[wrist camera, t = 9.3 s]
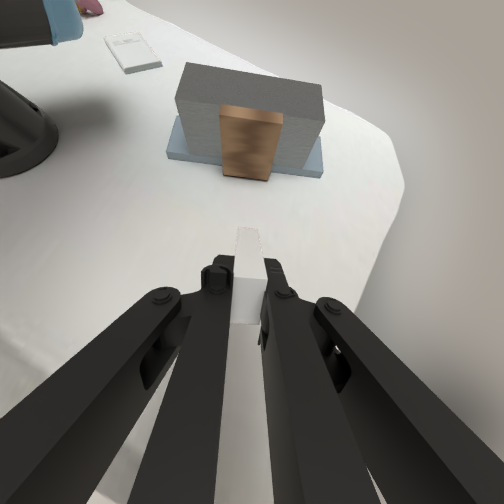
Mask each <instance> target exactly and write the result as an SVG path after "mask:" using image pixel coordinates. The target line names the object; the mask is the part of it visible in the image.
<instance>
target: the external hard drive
mask: <svg viewBox="0 0 504 504" xmlns="http://www.w3.org/2000/svg"><path fill="white" fill-rule="evenodd" d="M104 40H105V43H106V44H107V46H108V47H109V49H110V51H111V52H112V54H113V55H114V57H115V58H116V60H117V61H118V63H119V65H120V66H121V68H122V69H123V71H124V72H125V74H131V73H135V72H140V71H145V70H149V69H154V68H158V67H163V65H162V62H161V61H160V59H159V58H158V57H157V55H156V54H155V53H154V51H153V50H152V49H151V47H150V46H149V45H148V43H147V42H146V41H145V39H144V38H143V37H142V35H141V34H140V33H139V32H132V33H126V34H119V35H113V36H106V37H104Z"/></svg>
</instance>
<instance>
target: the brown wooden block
mask: <svg viewBox="0 0 504 504" xmlns="http://www.w3.org/2000/svg"><path fill="white" fill-rule="evenodd" d="M219 121H220V135H221V150H222V164H223V175H230V176H238V177H246V178H254V179H262V180H268V179H269V175H270V171H271V167H272V163H273V160H274V156H275V152H276V148H277V144H278V141H279V137H280V133H281V129H282V125H283V113H277V112H270V111H264V110H257V109H251V108H244V107H238V106H231V105H225V104H221V107H220V112H219Z"/></svg>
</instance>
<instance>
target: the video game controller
mask: <svg viewBox="0 0 504 504" xmlns="http://www.w3.org/2000/svg"><path fill="white" fill-rule="evenodd" d="M74 1H75V3H76V6H77V8H78V10H79V11H81V12H83V13H84V14H86V12H87V9H88V10H90V11H91V12H93V13H96V14H102V13H103V9H102V6H101V4H100V3H99V2H98V0H74Z"/></svg>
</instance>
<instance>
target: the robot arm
mask: <svg viewBox="0 0 504 504" xmlns="http://www.w3.org/2000/svg"><path fill="white" fill-rule="evenodd" d="M82 34H83V22H82V19H81V16H80V13H79V11H78V8H77V6H76V3H75V1H74V0H0V49H9V48H19V47H29V46H39V45H49V44H51V45H52V46H56V45H58V43H60V42H65V41H71V40H77V39H79V38H81V36H82ZM57 140H58V130H57V128H56V126H55V124H54V123H53V122H52V121H51V120H50V118H49V117H48V116H47V115H46V114H45V113H44V112H43V111H42V110H41V109H40V108H39V107H38V106H36V105H35V104H33V103H32V102H30V101H29V100H28V99H26V98H25V97H24V96H22V95H21V94H19V93H18V92H17V91H15V90H14V89H12V88H11V87H9V86H8V85H7V84H5V83H4V82H2V81H1V80H0V177H6V176H10V175H14V174H17V173H20V172H23V171H25V170H28V169H30V168H32V167H34V166H35V165H37V164H38V163H40V162H41V161H43V160H44V159H45V158H46V157H47V156H48V155H49V154H50V153H51V152H52V151H53V149H54V147H55V146H56V143H57ZM260 318H261V329H260V334H259V340H258V345H260V342H261V354H262V366H263V378H264V389H265V401H266V413H267V425H268V436H269V448H270V460H271V472H272V483H273V495H274V504H381V503H380V500H379V497H378V495H377V492H376V490H375V487H374V485H373V482H372V480H371V477H370V475H369V472H368V470H369V471H370V473H371V475H372V477H373V479H374V480H375V482H376V484H377V486H378V488H379V489H380V491H381V493H382V495H383V497H384V499H385V501H386V502H387V504H504V463H503V461H502V460H501V459H500V458H499V457H498V456H497V455H496V454H495V453H494V452H493V451H492V450H491V449H490V448H489V447H488V446H487V445H486V444H485V443H484V442H483V441H482V440H481V439H479V437H478V436H476V434H474V432H473V431H472V430H471V429H469V428H468V427H467V426H466V425H465V424H464V423H463V422H462V421H461V420H460V419H459V418H458V417H457V416H456V415H455V414H454V413H453V412H452V411H451V410H450V409H449V408H448V407H447V406H446V405H445V404H444V403H443V402H442V401H441V400H440V399H439V398H438V397H437V396H436V395H435V394H434V393H433V392H432V391H431V390H430V389H429V388H428V387H427V386H426V385H425V384H424V383H423V382H422V381H421V380H420V379H419V378H418V377H417V376H416V375H415V374H414V373H413V372H412V371H411V370H410V369H409V368H408V367H407V366H406V365H405V364H404V363H403V362H402V361H401V360H400V359H399V358H398V357H397V356H396V355H395V354H394V353H393V352H392V351H391V350H390V349H389V348H388V347H387V346H386V345H385V344H384V343H383V342H382V341H381V340H380V339H379V338H378V337H377V336H376V335H375V334H374V333H373V332H371V330H370V329H369V328H368V327H366V325H365V324H364V323H363V322H362V321H361V320H360V319H359V318H358V317H356V315H355V314H354V313H353V312H352V311H351V310H349V309H348V308H347V307H346V306H345V305H344V304H343V303H342V302H340V301H338V300H336V299H333V298H330V297H322V298H319V299H318V300H317V302H316V304H315V303H312V302H308V301H305V300H302V299H300V298H299V297H298V294H297V293H296V291H295V290H293V289H292V288H291V287H289V286H288V283H287V280H286V278H285V275H284V272H283V269H282V266H281V264H280V263H279V262H278V261H277V260H276V259H270V258H263V253H262V248H261V243H260V238H259V233H258V229H252V228H242V227H238V232H237V242H236V252H235V256H228V255H218V256H217V257H215V258H214V261H213V264H212V265H209V266H207V267H205V268H203V270H202V271H201V290H199V291H197V292H194V293H190V294H183V295H180V292H179V291H178V289H175V288H173V287H160V288H157V289H154V290H152V291H150V292H148V293H147V294H146V295H144V296H143V297H142V298H141V299H140V300H139V301H137V302H136V303H135V304H134V305H133V306H132V307H130V308H129V309H128V310H127V311H126V312H125V313H123V314H122V315H121V316H120V317H119V318H118V319H116V320H115V321H114V322H113V323H112V324H111V325H109V326H108V327H107V328H106V329H105V330H104V331H102V332H101V333H100V334H99V335H98V336H97V337H95V338H94V339H93V340H92V341H91V342H90V343H88V344H87V345H86V346H85V347H84V348H83V349H81V350H80V351H79V352H78V353H77V354H76V355H74V356H73V357H72V358H71V359H70V360H69V361H67V362H66V363H65V364H64V365H63V366H62V367H60V368H59V369H58V370H57V371H56V372H55V373H53V374H52V375H51V376H50V377H49V378H48V379H46V380H45V381H44V382H43V383H42V384H41V385H39V386H38V387H37V388H36V389H35V390H34V391H32V392H31V393H30V394H29V395H28V396H27V397H25V398H24V399H23V400H22V401H21V402H20V403H18V404H17V405H16V406H15V407H14V408H13V409H11V410H10V411H9V412H8V413H7V414H6V415H4V416H3V417H2V418H1V419H0V504H86V503H87V501H88V500H89V498H90V496H91V495H92V493H93V492H94V490H95V488H96V487H97V485H98V484H99V482H100V480H101V479H102V477H103V475H104V474H105V472H106V471H107V469H108V467H109V466H110V464H111V462H112V461H113V459H114V457H115V456H116V454H117V453H118V451H119V449H120V448H121V446H122V444H123V443H124V441H125V440H126V438H127V436H128V435H129V433H130V431H131V430H132V428H133V427H134V425H135V423H136V422H137V420H138V418H139V417H140V415H141V414H142V412H143V410H144V409H145V407H146V405H147V404H148V402H149V401H150V399H151V397H152V396H153V394H154V392H155V391H156V389H157V388H158V386H159V384H160V383H161V381H162V379H163V378H164V376H165V375H166V373H167V371H168V370H169V368H170V366H171V365H172V363H173V362H174V360H175V358H176V357H177V355H178V357H177V360H176V363H175V366H174V369H173V372H172V375H171V377H170V380H169V383H168V386H167V389H166V392H165V395H164V398H163V401H162V404H161V407H160V409H159V412H158V415H157V418H156V421H155V424H154V427H153V430H152V433H151V436H150V439H149V441H148V444H147V447H146V450H145V453H144V456H143V459H142V462H141V465H140V468H139V471H138V473H137V476H136V479H135V482H134V485H133V488H132V491H131V494H130V497H129V500H128V502H127V504H214V494H215V483H216V472H217V461H218V449H219V438H220V427H221V416H222V405H223V394H224V383H225V371H226V360H227V349H228V338H229V327H230V323H239V324H258V325H259V323H260ZM335 346H337V347H338V349H339V350H340V351H341V353H340V352H339V351H338V350H337V349H336V347H335ZM178 353H179V354H178ZM365 464H366V465H365ZM366 466H367V467H366ZM367 468H368V470H367Z"/></svg>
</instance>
